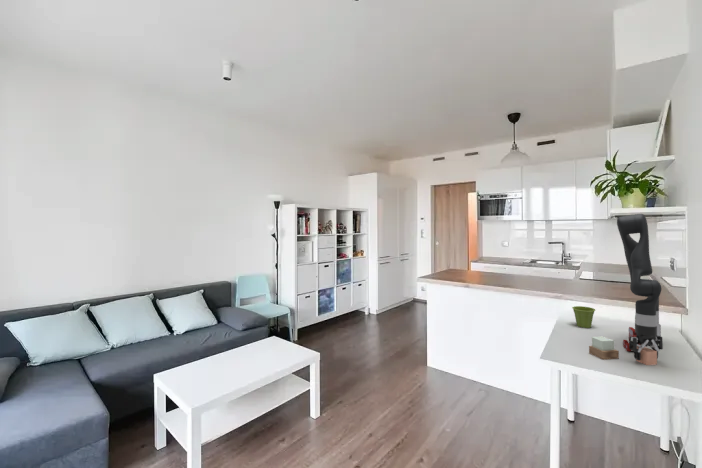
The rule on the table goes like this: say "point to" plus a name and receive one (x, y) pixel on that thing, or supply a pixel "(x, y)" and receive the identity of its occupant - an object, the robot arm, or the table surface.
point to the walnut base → (604, 353)
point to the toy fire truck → (632, 334)
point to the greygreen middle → (603, 343)
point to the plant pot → (583, 316)
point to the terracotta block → (648, 356)
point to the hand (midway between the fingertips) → (646, 359)
